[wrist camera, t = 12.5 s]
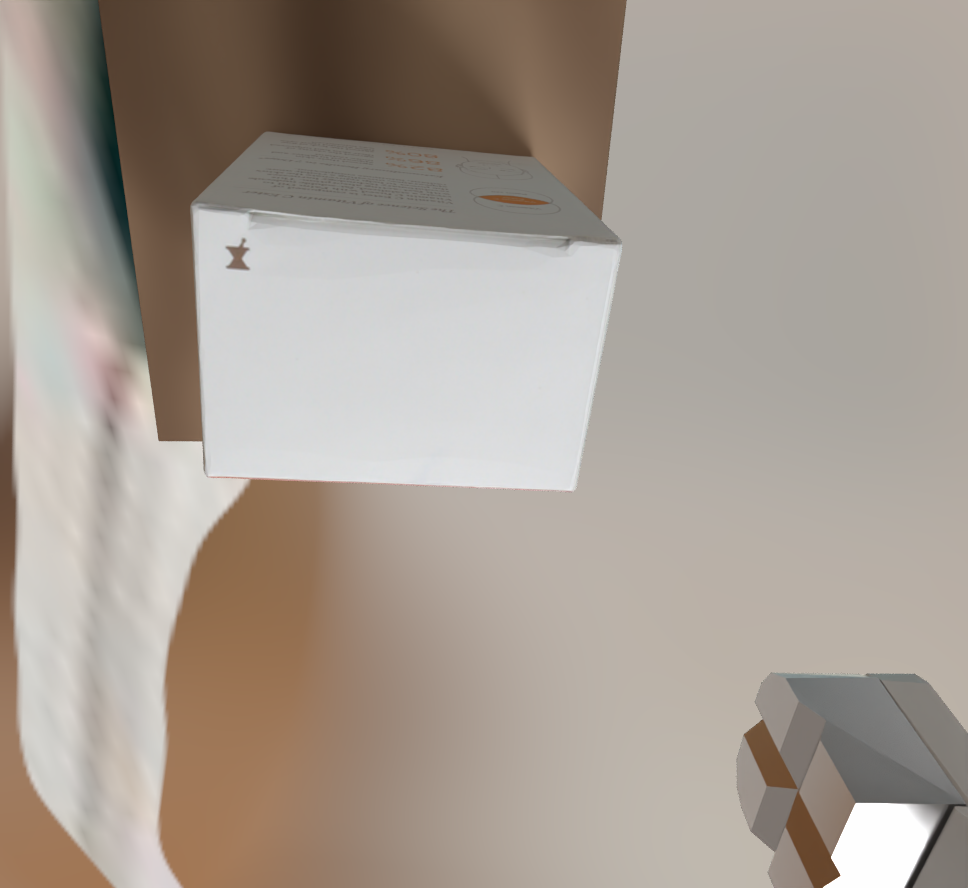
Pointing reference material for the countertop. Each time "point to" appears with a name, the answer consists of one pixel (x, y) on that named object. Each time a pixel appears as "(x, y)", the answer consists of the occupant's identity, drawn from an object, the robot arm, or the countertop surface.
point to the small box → (397, 316)
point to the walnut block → (334, 113)
